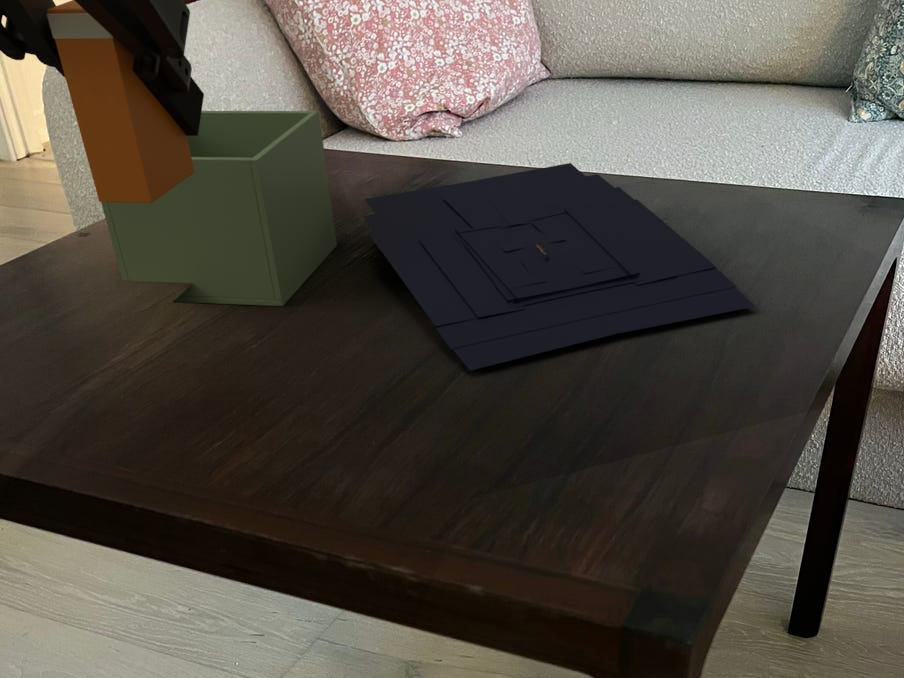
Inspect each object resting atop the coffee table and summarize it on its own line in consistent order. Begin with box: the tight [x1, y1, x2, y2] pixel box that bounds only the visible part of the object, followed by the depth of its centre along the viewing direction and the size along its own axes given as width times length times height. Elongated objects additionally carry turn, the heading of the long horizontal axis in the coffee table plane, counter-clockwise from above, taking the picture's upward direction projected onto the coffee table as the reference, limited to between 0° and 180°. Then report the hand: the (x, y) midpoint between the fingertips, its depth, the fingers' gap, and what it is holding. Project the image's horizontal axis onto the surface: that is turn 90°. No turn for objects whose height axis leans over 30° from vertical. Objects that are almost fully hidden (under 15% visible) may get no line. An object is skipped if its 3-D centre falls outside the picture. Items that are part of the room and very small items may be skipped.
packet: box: [47, 0, 194, 203], centre depth 61 cm, size 4×6×10 cm, turn 167°
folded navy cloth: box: [362, 162, 756, 371], centre depth 88 cm, size 24×30×4 cm
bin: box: [100, 110, 338, 307], centre depth 90 cm, size 14×14×12 cm
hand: (163, 114), depth 65 cm, fingers closed on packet, 4 cm apart
